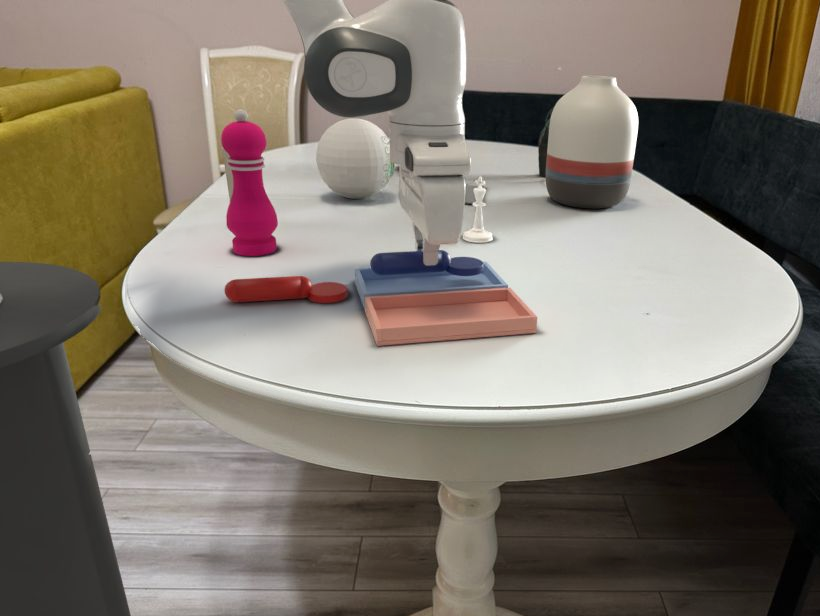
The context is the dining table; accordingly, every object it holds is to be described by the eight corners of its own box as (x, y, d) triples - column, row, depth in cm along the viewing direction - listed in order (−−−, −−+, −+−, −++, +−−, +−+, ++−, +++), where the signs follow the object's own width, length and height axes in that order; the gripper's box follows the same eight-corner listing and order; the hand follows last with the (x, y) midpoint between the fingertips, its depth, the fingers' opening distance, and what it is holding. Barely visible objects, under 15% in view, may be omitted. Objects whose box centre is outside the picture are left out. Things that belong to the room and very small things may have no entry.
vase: (616, 216, 127) (634, 81, 117) (531, 205, 133) (541, 76, 123) (635, 199, 141) (652, 77, 131) (557, 189, 147) (568, 72, 137)
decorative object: (388, 209, 126) (386, 125, 120) (309, 205, 127) (303, 121, 121) (400, 191, 140) (399, 115, 133) (329, 188, 141) (325, 112, 134)
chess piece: (484, 244, 108) (486, 181, 103) (457, 239, 110) (459, 177, 105) (497, 237, 112) (501, 176, 107) (471, 232, 114) (474, 172, 109)
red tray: (376, 346, 72) (376, 329, 71) (365, 312, 81) (364, 296, 80) (536, 333, 77) (537, 316, 76) (509, 302, 85) (510, 287, 84)
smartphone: (442, 201, 132) (449, 182, 146) (442, 203, 132) (449, 185, 146) (481, 202, 131) (484, 184, 146) (481, 205, 132) (484, 187, 146)
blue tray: (364, 309, 81) (363, 294, 80) (354, 282, 90) (354, 268, 89) (507, 299, 86) (508, 285, 85) (485, 275, 94) (486, 261, 93)
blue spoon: (373, 282, 83) (372, 260, 81) (367, 268, 87) (367, 247, 86) (488, 275, 86) (489, 254, 85) (477, 262, 91) (478, 242, 89)
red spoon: (224, 310, 80) (222, 287, 79) (226, 295, 84) (224, 273, 83) (349, 301, 83) (349, 280, 82) (345, 288, 88) (344, 267, 87)
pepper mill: (269, 240, 106) (256, 105, 97) (287, 252, 100) (276, 111, 92) (223, 247, 102) (205, 107, 93) (239, 260, 96) (222, 113, 88)
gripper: (386, 134, 88) (388, 237, 94) (417, 162, 70) (417, 287, 76) (433, 134, 90) (432, 235, 96) (475, 161, 72) (471, 284, 78)
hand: (426, 258), depth 86 cm, fingers closed on blue spoon, 3 cm apart
